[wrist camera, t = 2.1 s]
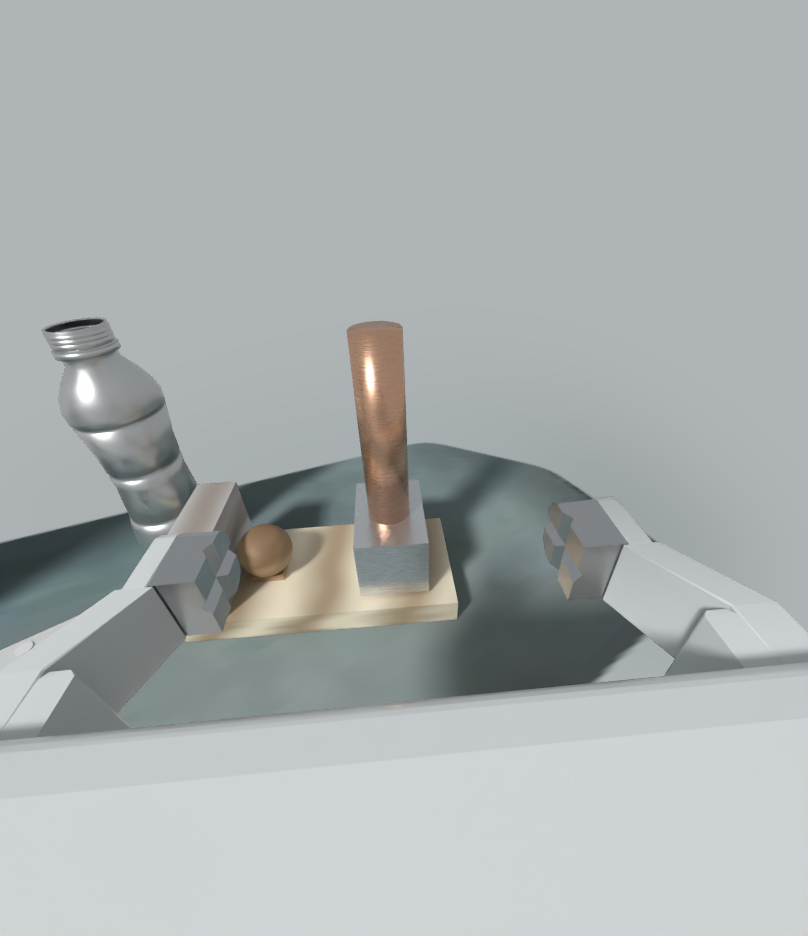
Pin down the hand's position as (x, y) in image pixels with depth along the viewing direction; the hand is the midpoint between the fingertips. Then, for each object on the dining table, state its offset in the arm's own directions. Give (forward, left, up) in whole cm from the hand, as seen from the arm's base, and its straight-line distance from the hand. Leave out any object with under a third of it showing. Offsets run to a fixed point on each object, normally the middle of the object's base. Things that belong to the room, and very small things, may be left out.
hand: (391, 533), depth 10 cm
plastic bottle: (-20, +20, -19) cm, 34 cm away
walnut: (-10, +14, -17) cm, 24 cm away
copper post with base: (0, +14, -17) cm, 22 cm away
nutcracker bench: (-6, +14, -19) cm, 24 cm away
